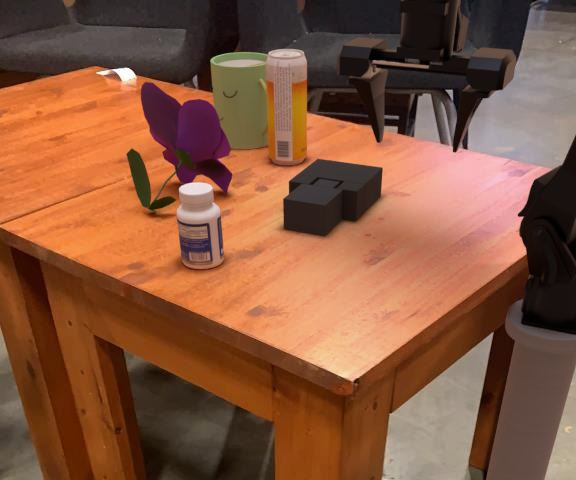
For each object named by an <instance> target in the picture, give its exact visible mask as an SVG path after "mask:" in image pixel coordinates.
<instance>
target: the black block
mask: <svg viewBox="0 0 576 480" xmlns="http://www.w3.org/2000/svg"><path fill="white" fill-rule="evenodd" d="M339 186H340V182H338V181H331V180H324V179H319V180H318V181H317V182H315V183H314V184H313V185H308V184H301V185H300V186H298V187H297V188H296V189H295V190H293V191H292V192H291V193H290V194H289V193H288V194H287V195H286V196H284V198H283V199H282V201H283V202H282V206H283V207H282V208H283V212H282V213H283V230H288V231H295V232H299V233H305V234H306V233H307V234H312V235H316V236H317V235H318V236H323V237H325V236H326V235H328V234H329V233H330V232H331V231H332V230H333V229H334V228H335V227H336V226H337V225H338V224H339V223H340V222H341V221H342V220H343V219H342V204H343V190H342V189H337V188H338V187H339Z"/></svg>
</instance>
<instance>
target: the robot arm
mask: <svg viewBox="0 0 576 480" xmlns="http://www.w3.org/2000/svg"><path fill="white" fill-rule="evenodd" d="M461 3H462V0H399V11H398V12H399V13H401V25H400V39H399V44H398V45H397V46H396V49H389V48H388V45H387V41H386V38H385V39H383V38H373V37H372V38H370V37H359V36H358V37H357V36H356V37H355V38H354V39H352V40H350V41H348V42H347V43H345V44H343V45H342V46H341V47H340V48H339V50H338V52H337V55H336V75H338V76H341V77H342V76H344V77H347V78H346V79H347V81H346V82H347V83H346V84H347V85H350V86H354V88H355V90H356V93H357V94H358V97H359V99H360V101H361V103H362V105H363V108H364V110H365V112H366V115H367V118H368V121H369V124H370V126H371V130H372V133H373V135H374V136H373V137H374V139H375V141H376V143H378V144H381V143H382V142H383V140H384V134H385V133H384V132H385V89H386V82H387V78H388V74H389V70H392V71H393V70H394V71H403V72H404V71H405V72H415V73H425V74H426V73H427V74H437V75H445V76H446V75H447V76H457V77H458V76H459V77H465V81H466V82H467V84H468V85H467V86H465V88H464V89H462V90H461V92H460V98H459V104H458V109H457V115H456V121H455V127H454V133H453V137H452V138H453V139H452V153H457V152H458V151H459V150H460V147H461V145H462V143H463V140H464V138H465V136H466V134H467V132H468V129H469V127H470V124H471V123H472V120H473V118H474V116H475V113H476V111H477V110H478V108H479V106H480V105H481V103H482V101H483V100H484V99H489V98H491V97H492V95H493V94H494V93H496V92H497V91H503V90H504V89H505V88H506V87H507V86H508V85H509V84H510V83H511V82H512V81H513V80H514V77H515V72H516V65H517V56H516V54H515V52H514V51H513V49H507V48H506V49H505V48H494V47H483V46H482V47H480V48H479V49H477V50H476V51H475V52H474V53H473V54H471V55H470V56H469V55H461V54H463V52H464V47H465V44H466V37H467V32H468V27H469V22H470V20H469V19H468V18H467V16H466V15H465V14H464V13H462V12H461V5H462V4H461ZM453 53H454V54H453ZM458 54H460V55H458ZM409 60H410V61H409ZM411 60H417V61H415V62H414V61H411ZM517 217H518V218H522V219H521V221H520V224H519V229H518V230H519V231H518V235H519V237H520V238H521V241H522V244H523V246H524V248H525V252H526V260H527V268H528V274H529V275H528V277H527V279H526V284H525V288H524V293H523V298H522V299H523V302H522V307H521V312H522V313H524V315H523V317H522V319H521V324H523V325H527V326H532V327H537V328H542V329H547V330H552V331H557V332H563V333H568V334H573V335H576V134H575V135H574V138H573V139H572V142H571V144H570V146H569V149H568V151H567V153H566V156H565V157H564V160H563V162H562V164H560V165H558V166H556V167H555V168H553V169H551V170H549V171H547V172H545V173H543V174H542V175H540V176H539V177H537V178H534V179H533V181H532V184H531V185H530V188H529V192H528V197H527V199H526V203H525V204H524V205H523V208H522V209H521V210H520V211H519V212H518V213H517Z"/></svg>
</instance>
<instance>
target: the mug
mask: <svg viewBox="0 0 576 480" xmlns="http://www.w3.org/2000/svg"><path fill="white" fill-rule="evenodd" d="M267 58H268V54H267V53H261V52H251V51H240V52H228V53H222V54H219V55H216V56H213V57H212V58H210V73H211V82H210V84H209V91H210V92H212V102H213V107H214V108H215V110H216V112H217V114H218V116H219V121H220V126H221V128H222V130H223V131H224V133H225V134H226V136H227V139H228V142H229V144H230V147H231V150H232V149H233V150H254V149H260V148H261V149H262V148H265V147H267V146H268V116H267V84H266V60H267Z"/></svg>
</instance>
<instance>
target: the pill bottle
mask: <svg viewBox="0 0 576 480" xmlns="http://www.w3.org/2000/svg"><path fill="white" fill-rule="evenodd" d="M178 195H179V196H178V197H179V198H178V199H179V202H180V203H181V205H179V207H178V208H177V209H176V223H177V224H176V225H177V232H178V239H179V248H180V255H181V256H180V257H181V262H182V263H183V265H184V266H186V267H188V268H189V269H193V270H208V269H212V268H216V267H217V266H219V265H221V264H222V263H223V262H224V259H225V249H224V236H223V226H222V225H223V224H222V214H221V208H220V207H219V206H218V204H217V203H215V202H214V200H215V198H214V195H215V194H214V186H212V185H211V184H210V183H207V182H200V181H197V182H194V181H193V182H192V183H188V184H185V183H184V184H182V185H180V186H179V187H178Z"/></svg>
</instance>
